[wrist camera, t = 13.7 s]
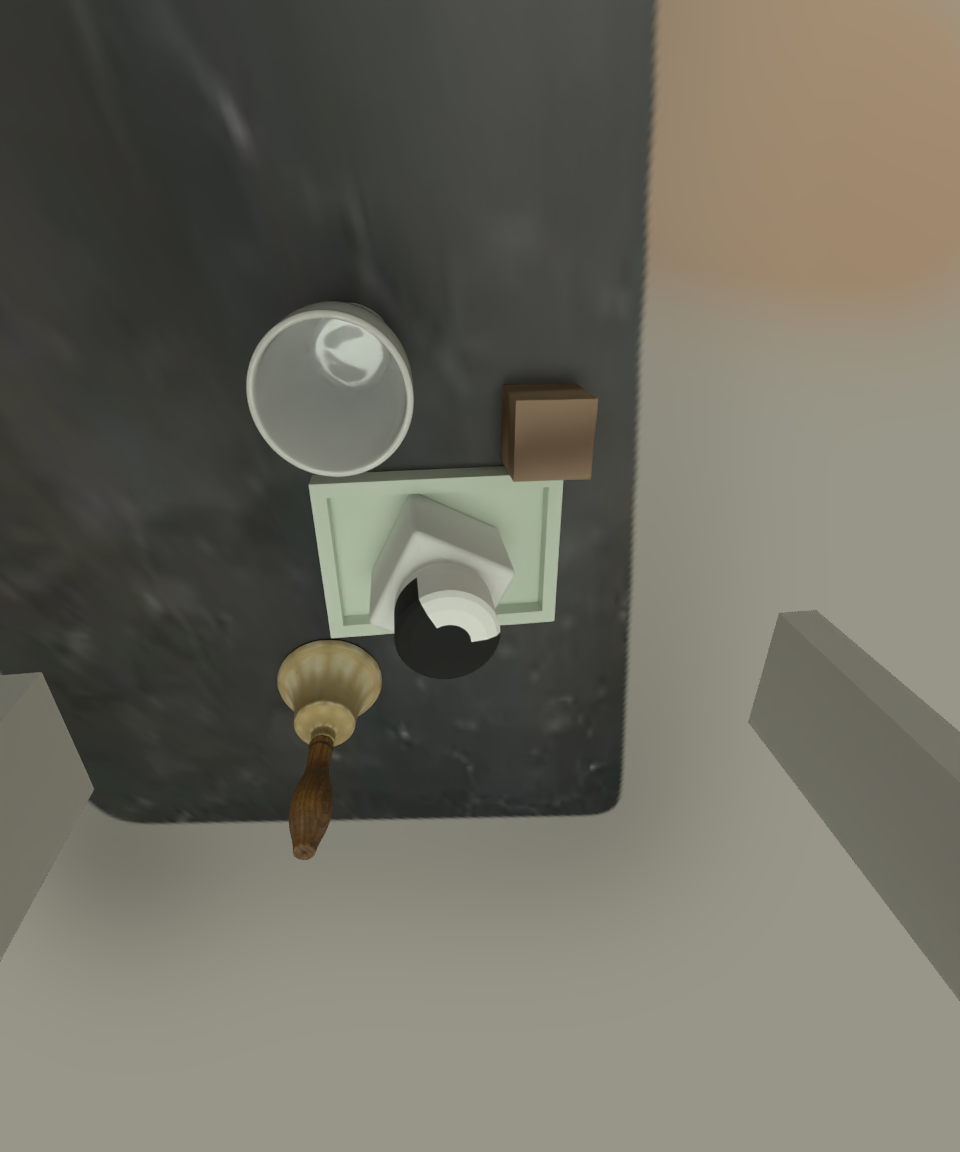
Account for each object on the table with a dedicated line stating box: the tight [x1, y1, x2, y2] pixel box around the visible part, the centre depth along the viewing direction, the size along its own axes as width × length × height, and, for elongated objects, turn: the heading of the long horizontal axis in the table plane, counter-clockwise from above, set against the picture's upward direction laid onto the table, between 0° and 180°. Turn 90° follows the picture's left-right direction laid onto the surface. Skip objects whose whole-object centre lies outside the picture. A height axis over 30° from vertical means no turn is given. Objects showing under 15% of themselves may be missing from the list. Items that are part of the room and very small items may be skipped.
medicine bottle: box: [369, 494, 515, 679], centre depth 39 cm, size 7×7×12 cm
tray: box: [309, 466, 563, 638], centre depth 43 cm, size 12×17×2 cm
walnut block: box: [501, 384, 598, 482], centre depth 39 cm, size 5×5×5 cm
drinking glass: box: [246, 301, 414, 477], centre depth 31 cm, size 7×7×15 cm
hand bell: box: [277, 640, 382, 860], centre depth 42 cm, size 8×8×16 cm
